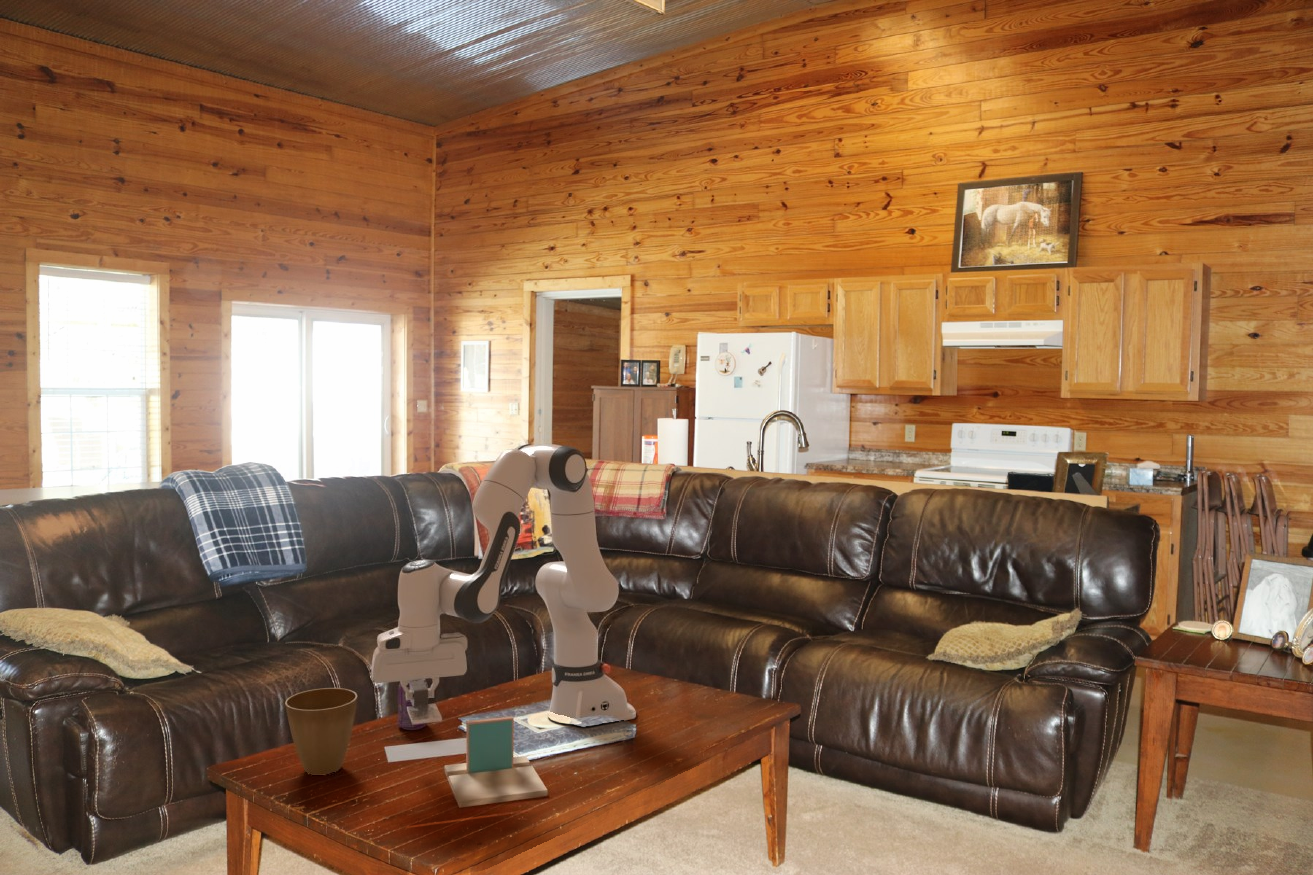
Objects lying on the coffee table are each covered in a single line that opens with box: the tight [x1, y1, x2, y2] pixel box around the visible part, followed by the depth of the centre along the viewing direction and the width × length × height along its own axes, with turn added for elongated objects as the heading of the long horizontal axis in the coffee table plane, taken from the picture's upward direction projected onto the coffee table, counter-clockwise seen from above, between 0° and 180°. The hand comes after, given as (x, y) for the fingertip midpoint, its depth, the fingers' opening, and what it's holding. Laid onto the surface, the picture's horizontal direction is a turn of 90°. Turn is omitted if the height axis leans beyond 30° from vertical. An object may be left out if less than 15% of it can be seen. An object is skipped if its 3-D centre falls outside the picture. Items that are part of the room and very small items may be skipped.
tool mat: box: [384, 737, 466, 765], centre depth 234 cm, size 22×10×1 cm, turn 110°
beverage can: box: [397, 679, 429, 731], centre depth 249 cm, size 7×7×12 cm
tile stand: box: [444, 755, 548, 808], centre depth 214 cm, size 18×20×2 cm
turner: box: [407, 680, 443, 724], centre depth 218 cm, size 18×6×4 cm, turn 20°
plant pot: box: [284, 687, 358, 775], centre depth 221 cm, size 15×15×16 cm
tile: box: [465, 716, 515, 774], centre depth 219 cm, size 10×1×12 cm, turn 110°
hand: (419, 698), depth 221 cm, fingers closed on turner, 3 cm apart
